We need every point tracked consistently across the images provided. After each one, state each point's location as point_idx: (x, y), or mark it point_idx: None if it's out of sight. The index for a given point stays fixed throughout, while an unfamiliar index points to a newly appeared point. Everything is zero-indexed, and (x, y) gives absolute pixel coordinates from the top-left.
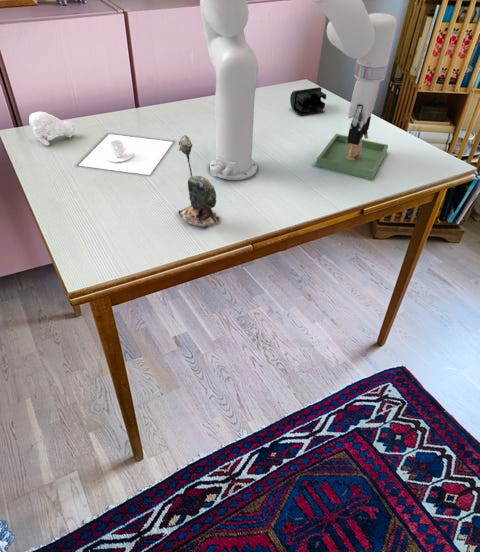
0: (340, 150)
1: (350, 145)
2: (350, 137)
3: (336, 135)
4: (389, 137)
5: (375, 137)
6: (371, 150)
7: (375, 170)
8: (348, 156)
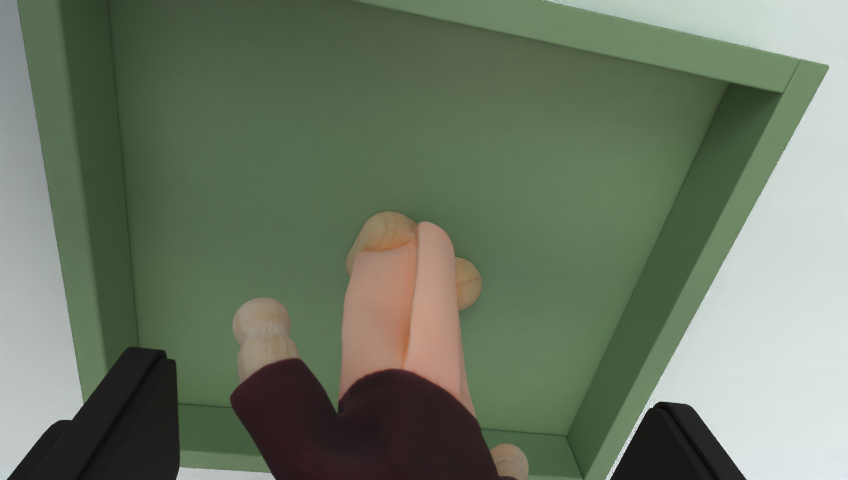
0: (526, 143)
1: (418, 286)
2: (17, 467)
3: (775, 79)
4: (813, 438)
5: (820, 367)
6: (577, 370)
7: None
8: (373, 237)
